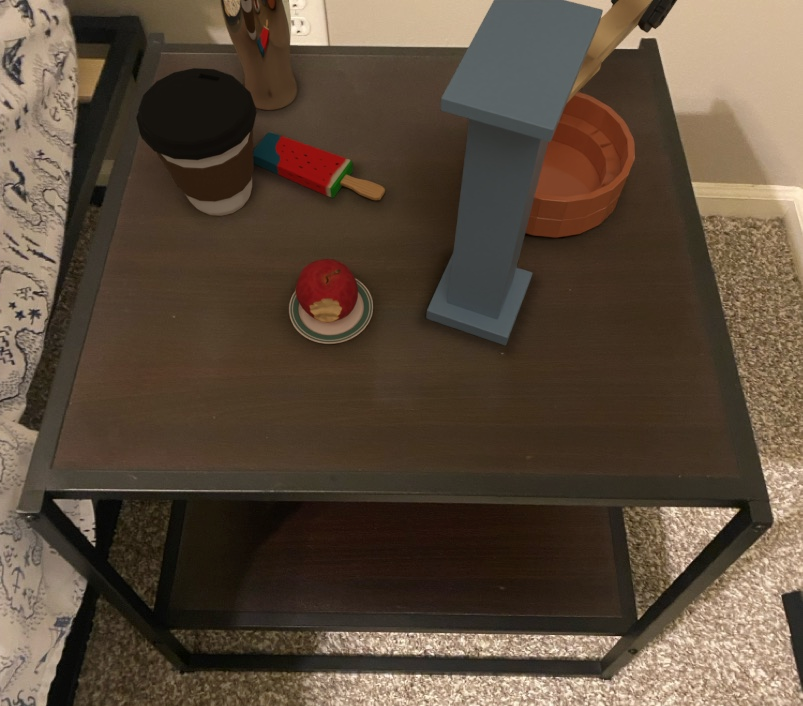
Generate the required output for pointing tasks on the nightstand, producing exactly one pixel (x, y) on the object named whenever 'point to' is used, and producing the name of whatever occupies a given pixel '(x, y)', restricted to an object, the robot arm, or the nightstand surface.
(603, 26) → the stick
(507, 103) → the stand
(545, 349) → the nightstand surface
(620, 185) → the bowl
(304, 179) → the popsicle
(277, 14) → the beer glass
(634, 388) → the nightstand surface
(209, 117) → the coffee cup
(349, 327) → the apple
